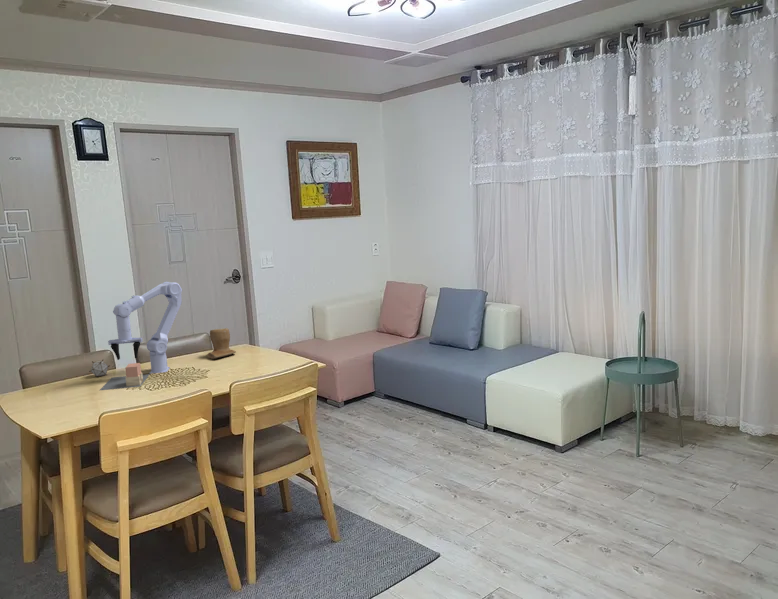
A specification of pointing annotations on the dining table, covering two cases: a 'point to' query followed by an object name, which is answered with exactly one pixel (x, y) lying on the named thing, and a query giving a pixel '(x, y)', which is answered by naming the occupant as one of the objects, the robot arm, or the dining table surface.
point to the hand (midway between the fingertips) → (127, 358)
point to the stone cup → (220, 343)
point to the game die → (99, 368)
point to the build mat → (120, 383)
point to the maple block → (134, 380)
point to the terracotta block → (133, 370)
